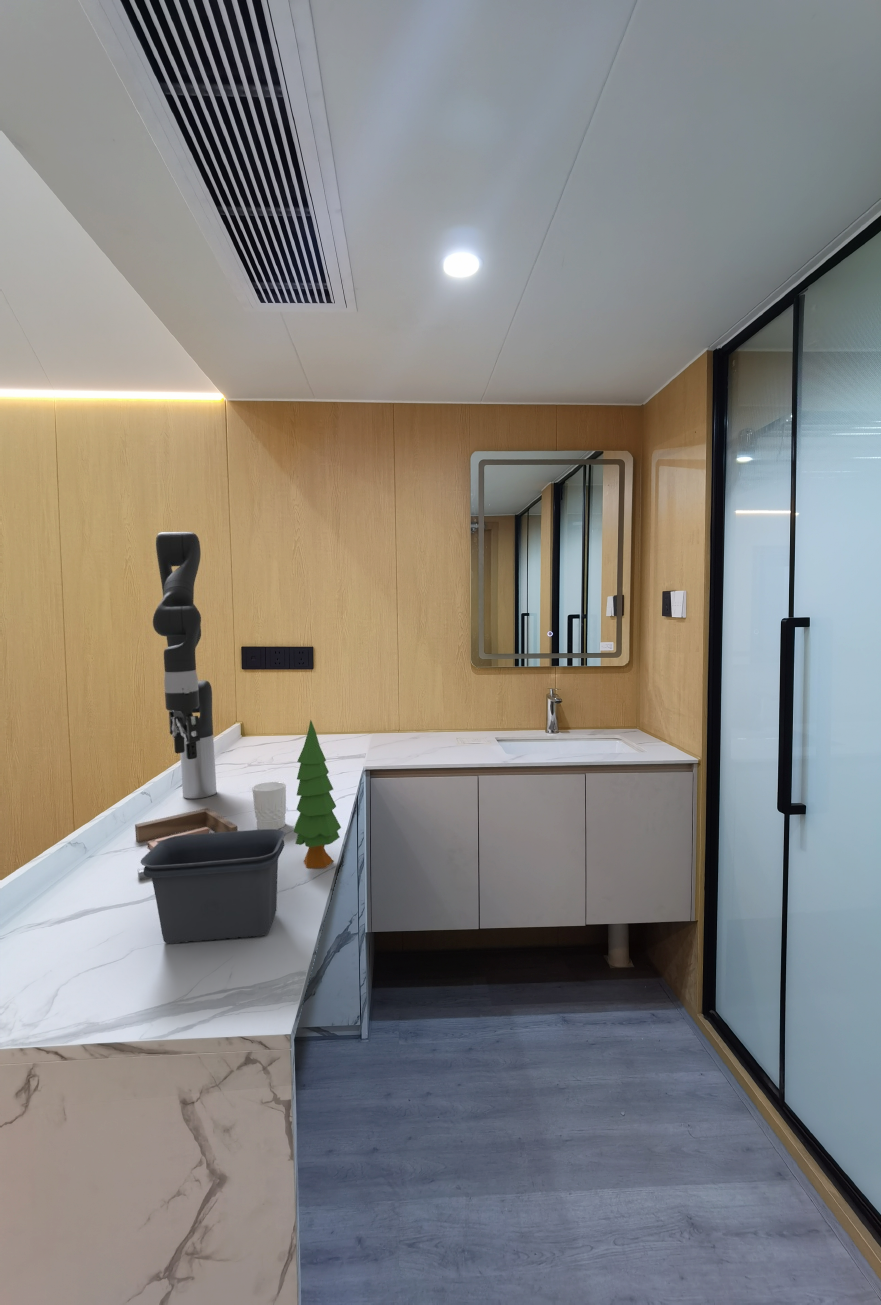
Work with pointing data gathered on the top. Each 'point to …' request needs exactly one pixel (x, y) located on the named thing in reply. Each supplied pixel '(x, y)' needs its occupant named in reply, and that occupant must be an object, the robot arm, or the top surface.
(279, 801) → the white cup
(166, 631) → the robot arm
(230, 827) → the wooden l-shaped bracket
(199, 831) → the corral frame
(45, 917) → the top surface
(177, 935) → the storage bin
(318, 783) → the decorative tree
